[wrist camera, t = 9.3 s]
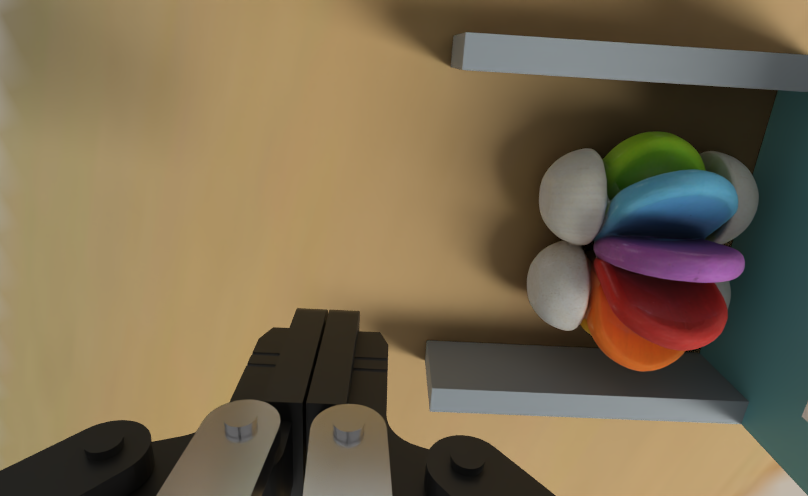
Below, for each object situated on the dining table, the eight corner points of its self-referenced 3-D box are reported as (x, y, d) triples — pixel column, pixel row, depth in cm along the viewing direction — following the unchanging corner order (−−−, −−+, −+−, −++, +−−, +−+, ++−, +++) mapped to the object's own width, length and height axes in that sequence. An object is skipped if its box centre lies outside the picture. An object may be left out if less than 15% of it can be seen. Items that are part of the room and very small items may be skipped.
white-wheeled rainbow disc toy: (513, 318, 26) (555, 411, 19) (541, 119, 23) (604, 148, 16) (680, 324, 26) (780, 419, 20) (732, 129, 23) (874, 161, 16)
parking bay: (453, 35, 21) (498, 22, 12) (815, 59, 22) (1131, 64, 12) (424, 360, 27) (441, 528, 17) (716, 373, 27) (884, 542, 18)
